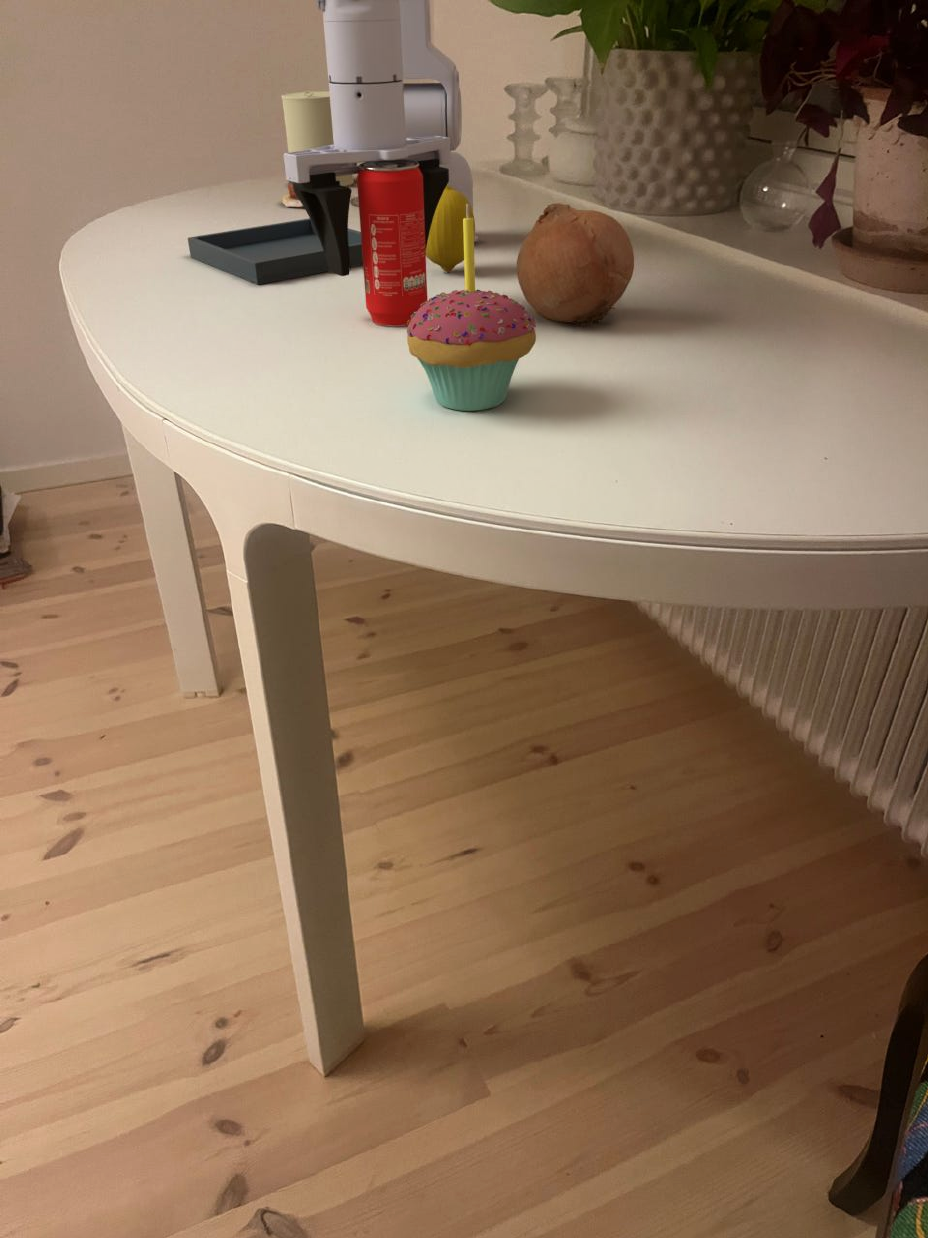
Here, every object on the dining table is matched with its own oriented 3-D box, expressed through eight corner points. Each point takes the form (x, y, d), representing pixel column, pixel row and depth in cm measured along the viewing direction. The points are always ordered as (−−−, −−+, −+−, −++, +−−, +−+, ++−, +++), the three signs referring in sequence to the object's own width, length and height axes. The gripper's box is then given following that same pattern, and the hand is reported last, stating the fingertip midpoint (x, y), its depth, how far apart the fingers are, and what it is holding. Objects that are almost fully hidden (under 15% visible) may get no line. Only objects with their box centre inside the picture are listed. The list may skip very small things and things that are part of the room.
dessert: (290, 190, 129) (309, 152, 126) (331, 220, 131) (351, 183, 127) (269, 206, 123) (289, 166, 120) (312, 237, 125) (333, 199, 121)
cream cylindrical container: (282, 188, 135) (271, 93, 129) (301, 178, 143) (292, 87, 136) (344, 189, 134) (336, 92, 127) (360, 178, 141) (354, 87, 135)
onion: (528, 351, 82) (483, 237, 79) (620, 307, 84) (580, 194, 81) (569, 341, 73) (520, 212, 70) (671, 293, 75) (627, 165, 72)
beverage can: (381, 331, 77) (371, 171, 71) (357, 315, 81) (345, 162, 75) (438, 321, 79) (433, 165, 73) (412, 307, 83) (405, 157, 77)
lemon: (469, 279, 91) (468, 189, 86) (414, 278, 92) (410, 188, 87) (480, 265, 95) (479, 179, 91) (427, 264, 96) (424, 178, 92)
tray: (313, 236, 108) (312, 217, 107) (388, 259, 98) (387, 239, 97) (190, 257, 101) (187, 237, 100) (257, 284, 91) (254, 263, 90)
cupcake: (408, 380, 68) (398, 199, 61) (525, 374, 68) (529, 195, 61) (412, 426, 60) (402, 226, 54) (544, 419, 61) (550, 221, 54)
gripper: (310, 90, 66) (328, 289, 73) (472, 77, 73) (474, 260, 81) (262, 85, 71) (284, 273, 78) (419, 73, 78) (425, 246, 85)
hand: (377, 265), depth 80 cm, fingers open, 7 cm apart
